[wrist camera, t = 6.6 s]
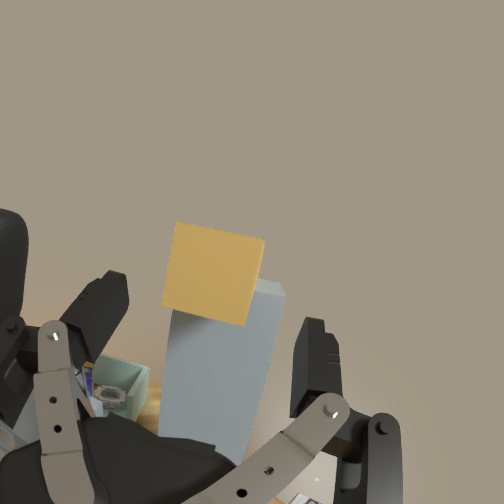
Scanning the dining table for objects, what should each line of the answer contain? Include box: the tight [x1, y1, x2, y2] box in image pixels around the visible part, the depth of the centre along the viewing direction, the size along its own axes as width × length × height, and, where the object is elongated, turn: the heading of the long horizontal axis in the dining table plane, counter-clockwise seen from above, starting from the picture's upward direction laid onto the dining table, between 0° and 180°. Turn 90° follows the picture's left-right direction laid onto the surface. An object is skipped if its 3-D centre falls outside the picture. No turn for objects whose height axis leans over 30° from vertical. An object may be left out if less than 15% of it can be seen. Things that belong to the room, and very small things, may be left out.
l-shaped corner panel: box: [94, 353, 150, 422], centre depth 45 cm, size 12×12×8 cm
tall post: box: [158, 278, 286, 466], centre depth 25 cm, size 8×8×32 cm
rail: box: [162, 222, 265, 326], centre depth 22 cm, size 22×4×4 cm, turn 177°
